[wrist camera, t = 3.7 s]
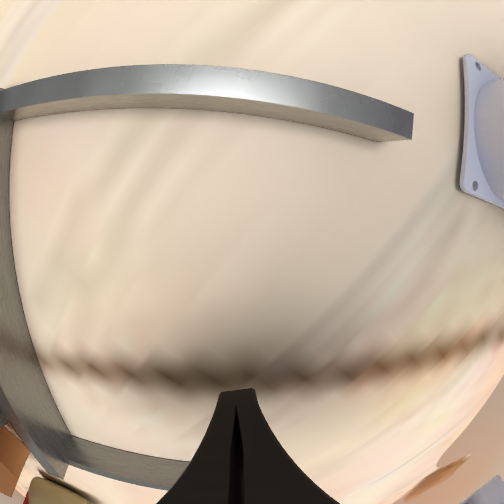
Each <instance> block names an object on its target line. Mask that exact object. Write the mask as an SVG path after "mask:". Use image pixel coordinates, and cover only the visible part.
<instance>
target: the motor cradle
mask: <svg viewBox="0 0 504 504" xmlns="http://www.w3.org/2000/svg"><path fill="white" fill-rule="evenodd" d="M115 108H179V109H198V110H211V111H222V112H232V113H241V114H249V115H257V116H263V117H270V118H276V119H282V120H288V121H294V122H299V123H304V124H309V125H314V126H318V127H323V128H327V129H332V130H336V131H340V132H344V133H348V134H352V135H356V136H359V137H363V138H366V139H370V140H373V141H377V142H383V141H396V140H412V129H413V116H414V113H411V112H409V111H407V110H404V109H402V108H399V107H396V106H394V105H391V104H388V103H386V102H383V101H380V100H377V99H374V98H371V97H368V96H365V95H362V94H359V93H356V92H353V91H349V90H346V89H342V88H339V87H335V86H331V85H328V84H324V83H320V82H315V81H311V80H307V79H302V78H297V77H292V76H287V75H282V74H276V73H270V72H264V71H257V70H249V69H241V68H232V67H221V66H207V65H182V64H157V65H133V66H120V67H109V68H100V69H92V70H85V71H79V72H73V73H67V74H62V75H57V76H52V77H48V78H43V79H39V80H35V81H31V82H28V83H24V84H20V85H17V86H14V87H10V88H7V89H3V88H0V428H1V427H3V426H4V425H5V424H6V423H7V422H8V421H9V422H10V423H11V425H12V426H13V428H14V429H15V431H16V432H17V434H18V435H19V437H20V438H21V439H22V441H23V442H24V444H25V445H26V446H27V448H28V449H29V450H30V452H31V453H32V454H33V455H34V457H35V458H36V459H37V461H38V462H39V463H40V464H41V465H42V467H43V468H44V469H45V470H46V471H47V472H48V473H49V474H51V475H54V476H56V477H58V478H61V479H64V476H65V473H66V470H67V468H68V465H72V466H74V467H77V468H80V469H83V470H86V471H89V472H92V473H95V474H98V475H101V476H105V477H108V478H112V479H115V480H119V481H123V482H127V483H131V484H136V485H140V486H145V487H150V488H156V489H161V490H168V491H169V490H170V489H171V488H172V486H173V485H174V484H175V483H176V481H177V480H178V479H179V477H180V476H181V475H182V473H183V472H184V471H185V469H186V468H187V466H188V465H189V463H190V462H183V461H176V460H169V459H162V458H156V457H151V456H145V455H140V454H136V453H131V452H127V451H122V450H118V449H114V448H110V447H107V446H103V445H100V444H96V443H93V442H90V441H86V440H83V439H80V438H77V437H74V436H72V435H71V434H70V433H69V431H68V429H67V427H66V425H65V423H64V421H63V419H62V417H61V415H60V413H59V411H58V409H57V407H56V404H55V402H54V400H53V398H52V396H51V393H50V391H49V389H48V386H47V384H46V381H45V379H44V376H43V374H42V371H41V368H40V366H39V363H38V360H37V357H36V354H35V351H34V348H33V345H32V342H31V338H30V335H29V332H28V328H27V324H26V321H25V317H24V313H23V309H22V304H21V300H20V295H19V290H18V285H17V280H16V274H15V267H14V261H13V253H12V244H11V234H10V220H9V162H10V148H11V138H12V130H13V122H14V121H15V120H20V119H25V118H31V117H37V116H43V115H50V114H57V113H65V112H74V111H84V110H97V109H115Z"/></svg>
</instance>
